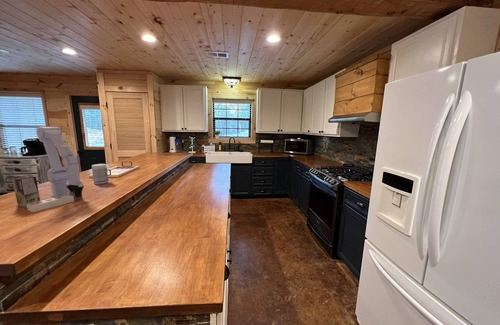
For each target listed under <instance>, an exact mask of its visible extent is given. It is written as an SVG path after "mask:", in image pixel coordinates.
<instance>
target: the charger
mask: <svg viewBox="0 0 500 325" xmlns="http://www.w3.org/2000/svg"><path fill="white" fill-rule="evenodd" d="M69 194H70V195H73V197H74V201H79V200H82V199H83V198H84V197H83V193H82V194H81V197H78V198H77V197H76V195H75V192H74V191H69Z"/></svg>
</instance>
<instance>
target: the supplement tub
mask: <svg viewBox="0 0 500 325" xmlns="http://www.w3.org/2000/svg"><path fill="white" fill-rule="evenodd" d="M107 166H108V165H107V164H106V163H97V164H92V165H91V171H92V172H91V173H92V178H93V180H92V181H93V184H95V185H104V184H107V183H109V181H110V180H109V175H108V167H107Z"/></svg>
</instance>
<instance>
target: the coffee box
mask: <svg viewBox="0 0 500 325" xmlns="http://www.w3.org/2000/svg"><path fill="white" fill-rule="evenodd" d="M11 180H12V184H13V185H12V186H13V189H14V194H15V199H16V203H17V204H16V205H17V206H19V207H23V208H27V204H29V203H34V202H38V201H41V197H40V191H39V187H38V180H37V177H36V176H31V175H24V176H23V175H22V176H18V177H12V178H11Z"/></svg>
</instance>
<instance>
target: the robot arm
mask: <svg viewBox="0 0 500 325" xmlns="http://www.w3.org/2000/svg"><path fill="white" fill-rule="evenodd" d="M36 135H37V139H38V140H39V142H41V143H43V144H42V145H43V146H44V150H45V152H46V155H47V158H48V161H49V164H50V165H49V166H50V168H49V169H48V170H47V172H46V176H47V181H48V182H49V183H50V184H51V185H50V189H51V194H50V197H52V198H54V197H59V196H63V195H67V194H69V191H74V192H75V195H76V197H77V198H78V197H81V194H82V195H83V189H84V187H85V185H84V184H83V182H82V181H81V176H80V167H79V164H80V163H81V162H80V161H81V160H80V157H79V155H78V154H76V153H74V152H73V150H72V149H71V147H69V145H66V144H65V142H64V140H63V138H62V129H61V128H60V127H59V126H38V127H37V128H36ZM59 155H60V156H61V158H62V162H61V160H60V156H59ZM62 164H63V165H62ZM69 195H70V194H69Z"/></svg>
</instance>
